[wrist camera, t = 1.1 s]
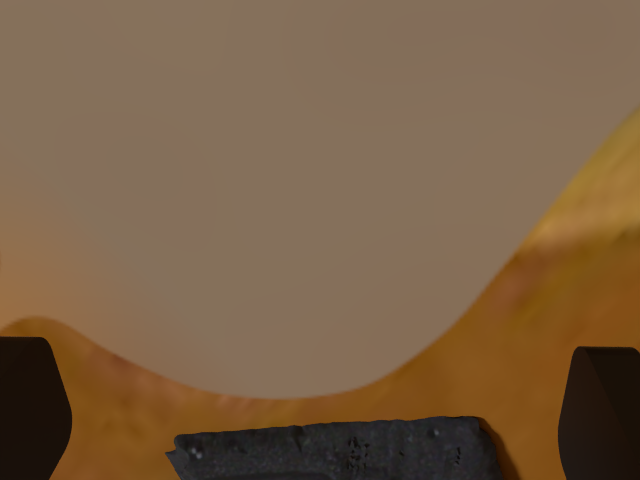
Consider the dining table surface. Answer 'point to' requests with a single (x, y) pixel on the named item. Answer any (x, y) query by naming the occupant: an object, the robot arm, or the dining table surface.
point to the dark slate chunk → (342, 452)
